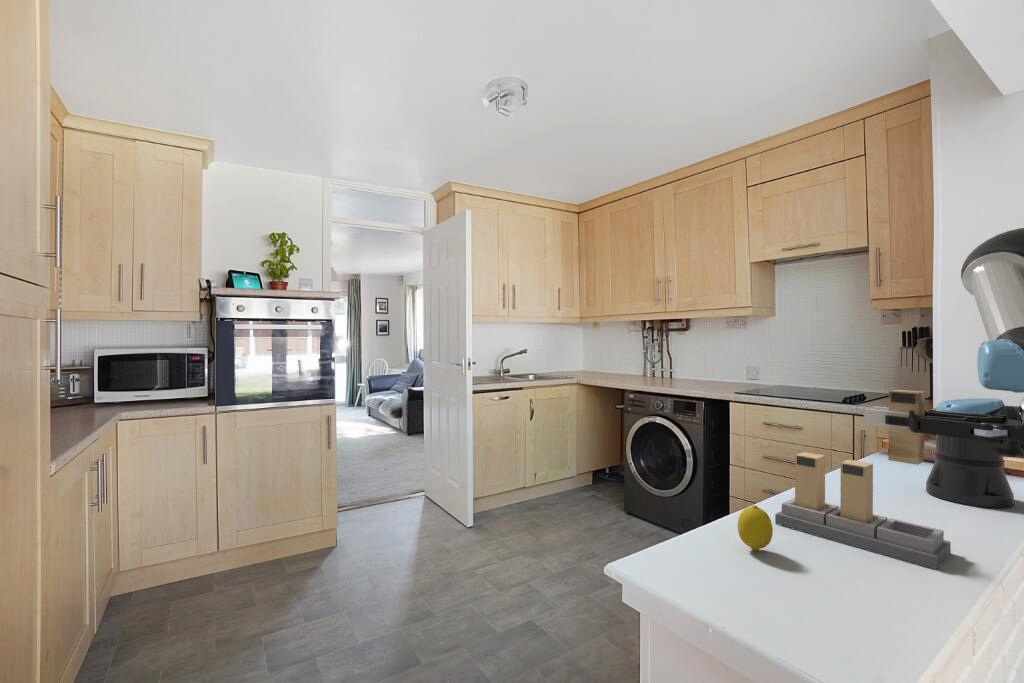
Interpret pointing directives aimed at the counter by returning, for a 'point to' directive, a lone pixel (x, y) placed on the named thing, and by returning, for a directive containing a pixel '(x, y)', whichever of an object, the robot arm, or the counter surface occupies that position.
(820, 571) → the counter surface
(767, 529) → the lemon
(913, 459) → the oak finger
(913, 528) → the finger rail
